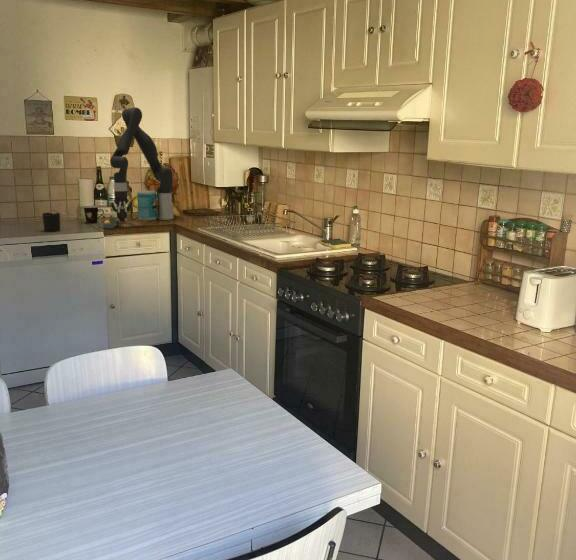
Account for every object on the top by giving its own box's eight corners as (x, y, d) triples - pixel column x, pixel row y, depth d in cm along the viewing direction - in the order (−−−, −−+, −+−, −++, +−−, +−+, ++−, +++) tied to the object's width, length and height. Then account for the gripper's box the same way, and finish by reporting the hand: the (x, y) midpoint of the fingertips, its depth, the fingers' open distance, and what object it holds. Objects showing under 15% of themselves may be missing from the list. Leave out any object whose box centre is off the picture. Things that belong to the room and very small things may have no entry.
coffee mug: (81, 223, 388) (80, 207, 385) (91, 221, 395) (90, 205, 392) (95, 224, 382) (94, 208, 380) (105, 222, 390) (104, 206, 387)
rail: (138, 223, 390) (138, 220, 389) (143, 225, 384) (143, 222, 383) (116, 225, 382) (116, 222, 382) (121, 226, 376) (121, 224, 375)
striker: (125, 224, 384) (124, 208, 382) (129, 225, 379) (128, 209, 377) (111, 225, 379) (110, 209, 376) (114, 226, 374) (113, 210, 372)
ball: (103, 219, 375) (101, 225, 375) (106, 220, 371) (104, 226, 371) (110, 221, 377) (107, 227, 377) (112, 222, 374) (110, 228, 374)
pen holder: (55, 228, 367) (54, 211, 364) (64, 230, 361) (62, 213, 359) (40, 230, 360) (39, 213, 357) (49, 232, 354) (47, 215, 352)
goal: (108, 225, 380) (108, 220, 379) (114, 227, 372) (114, 222, 371) (97, 226, 376) (97, 221, 376) (103, 228, 368) (103, 223, 368)
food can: (136, 218, 409) (135, 190, 405) (154, 217, 414) (153, 190, 410) (140, 221, 399) (139, 192, 394) (159, 219, 404) (158, 192, 400)
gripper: (129, 188, 381) (130, 216, 386) (107, 189, 374) (108, 218, 378) (134, 190, 376) (135, 218, 380) (111, 191, 368) (113, 220, 372)
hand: (122, 218), depth 379 cm, fingers closed on striker, 3 cm apart
